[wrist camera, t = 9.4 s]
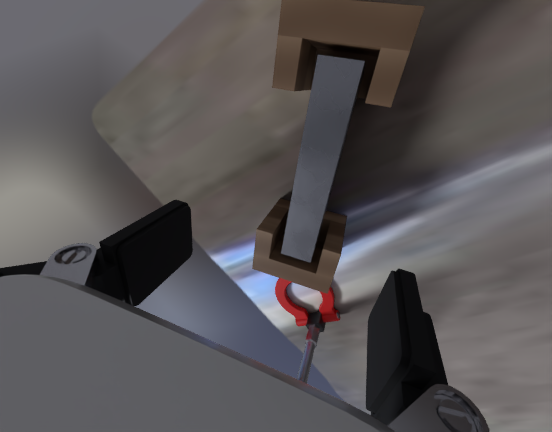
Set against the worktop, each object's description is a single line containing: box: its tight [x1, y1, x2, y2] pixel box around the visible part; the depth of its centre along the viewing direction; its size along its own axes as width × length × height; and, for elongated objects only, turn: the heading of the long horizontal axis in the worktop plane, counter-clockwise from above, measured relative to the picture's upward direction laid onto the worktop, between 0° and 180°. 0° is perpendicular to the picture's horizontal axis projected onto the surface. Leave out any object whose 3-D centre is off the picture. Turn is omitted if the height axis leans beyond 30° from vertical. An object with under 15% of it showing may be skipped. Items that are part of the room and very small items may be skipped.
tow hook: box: [275, 278, 340, 384], centre depth 30 cm, size 8×13×9 cm
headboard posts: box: [252, 0, 425, 294], centre depth 23 cm, size 22×8×8 cm, turn 175°
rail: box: [281, 55, 365, 263], centre depth 22 cm, size 17×3×5 cm, turn 175°
